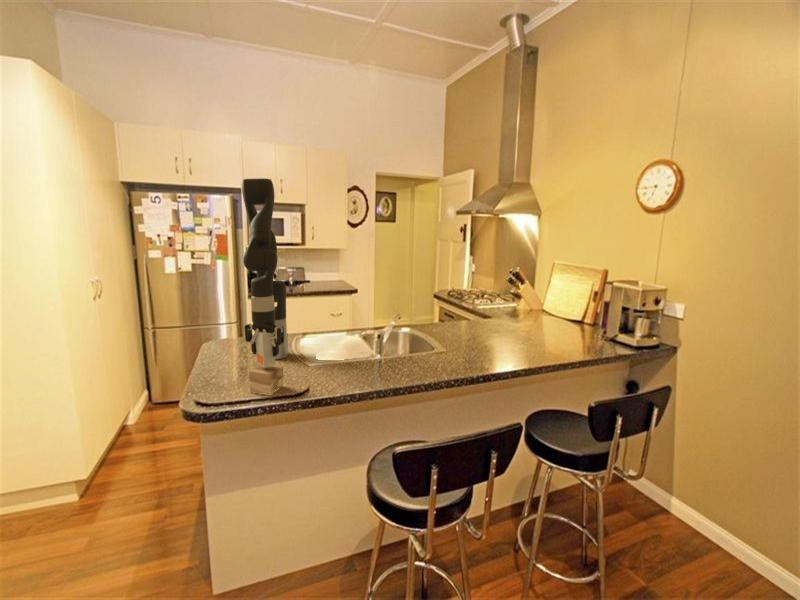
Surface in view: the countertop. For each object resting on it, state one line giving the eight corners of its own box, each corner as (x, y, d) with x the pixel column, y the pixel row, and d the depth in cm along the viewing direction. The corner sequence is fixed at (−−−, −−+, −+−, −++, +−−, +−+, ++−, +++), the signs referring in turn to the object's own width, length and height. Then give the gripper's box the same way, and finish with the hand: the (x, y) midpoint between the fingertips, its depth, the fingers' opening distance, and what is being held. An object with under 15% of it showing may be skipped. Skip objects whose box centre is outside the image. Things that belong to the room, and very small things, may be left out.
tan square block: (264, 373, 145) (264, 363, 144) (283, 376, 142) (282, 366, 141) (249, 381, 137) (249, 371, 136) (269, 385, 135) (268, 374, 134)
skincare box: (256, 363, 139) (254, 330, 137) (267, 360, 142) (266, 327, 140) (264, 367, 135) (262, 334, 133) (275, 364, 138) (274, 331, 135)
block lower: (263, 384, 145) (262, 374, 144) (283, 386, 143) (282, 376, 142) (250, 393, 138) (249, 382, 137) (270, 396, 136) (270, 385, 135)
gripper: (287, 307, 136) (289, 353, 140) (251, 304, 140) (253, 349, 143) (276, 312, 129) (278, 360, 133) (237, 309, 133) (240, 356, 136)
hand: (265, 354), depth 138 cm, fingers closed on skincare box, 7 cm apart
